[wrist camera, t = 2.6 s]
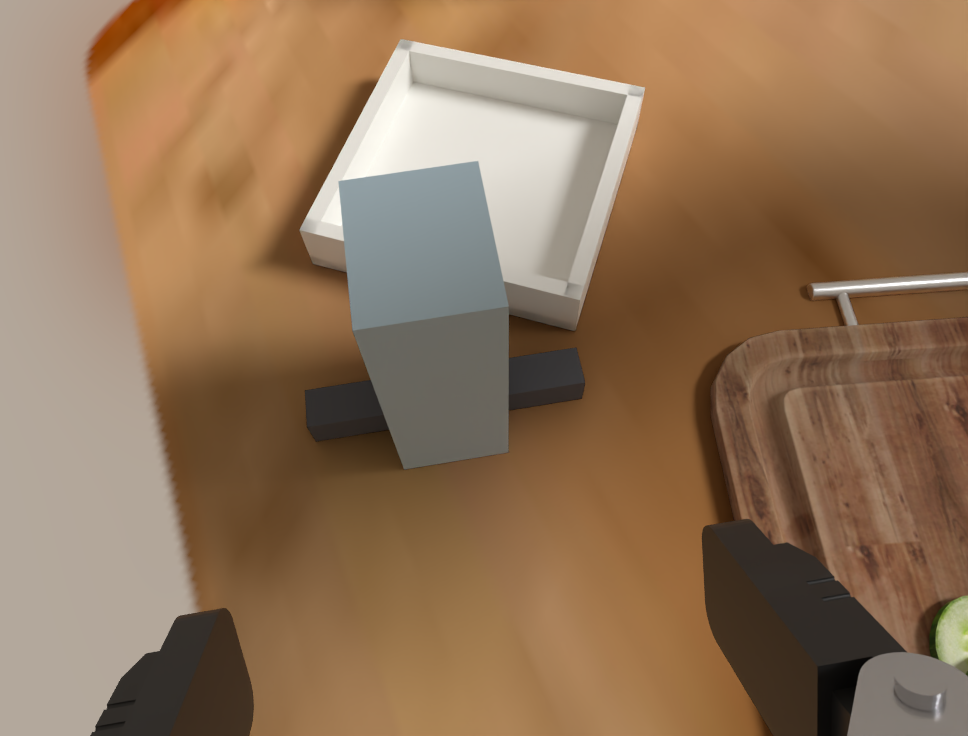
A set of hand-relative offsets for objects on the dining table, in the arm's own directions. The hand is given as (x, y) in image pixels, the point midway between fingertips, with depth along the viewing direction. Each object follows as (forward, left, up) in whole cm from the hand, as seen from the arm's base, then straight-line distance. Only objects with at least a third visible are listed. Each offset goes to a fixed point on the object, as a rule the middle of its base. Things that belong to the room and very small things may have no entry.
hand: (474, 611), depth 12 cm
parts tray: (-21, -7, -15) cm, 26 cm away
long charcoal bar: (-10, -5, -15) cm, 18 cm away
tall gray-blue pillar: (-10, -5, -15) cm, 18 cm away
